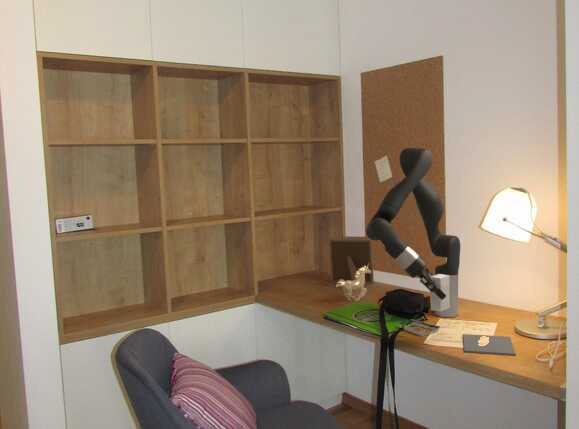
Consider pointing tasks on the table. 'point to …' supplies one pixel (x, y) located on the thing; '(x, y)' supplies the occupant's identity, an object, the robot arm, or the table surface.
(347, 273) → the photo frame
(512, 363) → the table surface
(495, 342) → the charcoal mat
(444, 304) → the skincare box
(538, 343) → the table surface
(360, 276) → the unicorn
